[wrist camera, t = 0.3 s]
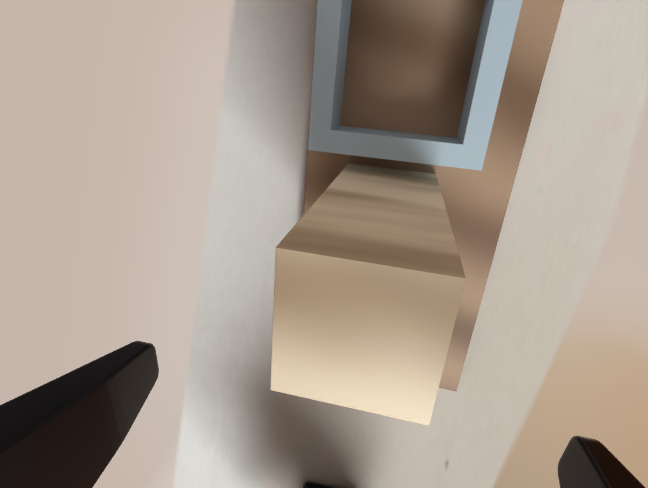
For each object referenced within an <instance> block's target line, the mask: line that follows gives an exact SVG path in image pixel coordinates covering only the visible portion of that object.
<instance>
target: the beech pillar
mask: <svg viewBox="0 0 648 488" xmlns="http://www.w3.org/2000/svg"><path fill="white" fill-rule="evenodd" d="M465 281H466V277H465V273H464V270H463V266H462V263H461V259H460V256H459V252H458V249H457V245H456V242H455V239H454V235H453V232H452V228H451V225H450V221H449V218H448V214H447V211H446V207H445V204H444V200H443V197H442V193H441V190H440V186H439V183H438V180H437V176H436V174H433V173H425V172H416V171H408V170H400V169H392V168H384V167H375V166H367V165H359V164H351V163H348V165H347V166H346V167H345V168H344V169H343V170H342V171H341V173H340V174H339V175H338V176H337V177H336V178H335V180H334V181H333V182H332V183H331V184H330V185H329V187H328V188H327V189H326V190H325V191H324V192H323V194H322V195H321V196H320V197H319V198H318V199H317V200H316V202H315V203H314V204H313V205H312V206H311V207H310V209H309V210H308V211H307V212H306V213H305V214H304V216H303V217H302V218H301V219H300V220H299V221H298V223H297V224H296V225H295V226H294V227H293V228H292V229H291V231H290V232H289V233H288V234H287V235H286V236H285V238H284V239H283V240H282V241H281V242H280V243H279V245H278V246H277V247H276V257H275V284H274V311H273V338H272V365H271V390H273V391H277V392H282V393H286V394H290V395H295V396H299V397H304V398H308V399H313V400H317V401H322V402H326V403H331V404H335V405H339V406H344V407H348V408H353V409H357V410H362V411H366V412H371V413H375V414H379V415H384V416H388V417H393V418H397V419H402V420H406V421H411V422H415V423H420V424H424V425H428V426H429V423H430V419H431V415H432V412H433V408H434V404H435V400H436V396H437V392H438V388H439V384H440V380H441V376H442V372H443V368H444V364H445V360H446V356H447V352H448V348H449V344H450V340H451V336H452V332H453V328H454V324H455V320H456V316H457V312H458V308H459V304H460V300H461V296H462V293H463V289H464V285H465Z"/></svg>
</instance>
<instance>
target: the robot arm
mask: <svg viewBox="0 0 648 488" xmlns="http://www.w3.org/2000/svg"><path fill="white" fill-rule="evenodd" d="M158 372H159V368H158V363H157V356H156V350H155V347H154V346H153V344H150V343H145V342H141V341H135V342H132V343H130V344H128V345H126V346H124V347H122V348H120V349H117V350H115V351H113V352H111V353H109V354H107V355H105V356H103V357H101V358H99V359H97V360H94V361H92V362H90V363H88V364H86V365H84V366H82V367H80V368H78V369H76V370H73V371H71V372H69V373H67V374H65V375H63V376H61V377H59V378H57V379H55V380H52V381H50V382H48V383H46V384H44V385H42V386H40V387H38V388H36V389H33V390H32V391H30V392H27V393H25V394H23V395H21V396H19V397H17V398H15V399H13V400H10V401H9V402H6V403H4V404H2V405H0V488H92V487H93V486H94V484H95V483H96V481H97V480H98V478H99V477H100V475H101V474H102V472H103V471H104V469H105V468H106V466H107V465H108V463H109V462H110V460H111V459H112V457H113V456H114V455H115V453H116V451H117V450H118V448H119V447H120V445H121V444H122V442H123V440H124V439H125V437H126V435H127V433H128V432H129V430H130V428H131V426H132V424H133V423H134V421H135V419H136V417H137V415H138V413H139V412H140V410H141V408H142V406H143V404H144V402H145V400H146V399H147V397H148V395H149V393H150V391H151V390H152V388H153V386H154V384H155V382H156V380H157V377H158ZM558 477H559V483H560V488H645V487H644V486H643V485H642V484H641V483H640V482H639V481H638V480H637V479H636V478H635V477H634V476H633V475H632V474H631V473H630V472H629V471H628V470H627V469H626V468H625V466H624V465H623V464H621V462H620V461H619V460H618V459H617V458H615V456H614V455H613V454H612V453H611V452H610V451H608V449H607V448H606V447H605V446H604V445H603V444H602V443H600V442H599V441H597V440H595V439H591V438H586V437H581V436H574V437H572V438H571V440H570V442H569V443H568V445H567V447H566V449H565V451H564V453H563V455H562V457H561V458H560V461H559V464H558ZM303 488H326V487H323V486H319V485H315V484H311V483H305V484H304V485H303Z"/></svg>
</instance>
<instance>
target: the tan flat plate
mask: <svg viewBox="0 0 648 488" xmlns="http://www.w3.org/2000/svg"><path fill="white" fill-rule="evenodd" d="M485 1H486V0H352V3H351V13H350V24H349V35H348V45H347V56H346V66H345V77H344V88H343V98H342V109H341V120H340V126H349V127H359V128H368V129H377V130H387V131H396V132H405V133H415V134H424V135H434V136H443V137H452V138H457V135H458V130H459V125H460V120H461V116H462V111H463V106H464V101H465V96H466V92H467V87H468V82H469V77H470V73H471V68H472V63H473V58H474V53H475V49H476V44H477V39H478V34H479V29H480V25H481V20H482V15H483V10H484V5H485ZM563 3H564V0H523V1H522V5H521V9H520V14H519V18H518V22H517V26H516V30H515V34H514V39H513V43H512V47H511V51H510V55H509V59H508V64H507V68H506V72H505V76H504V80H503V84H502V88H501V93H500V97H499V101H498V105H497V109H496V113H495V118H494V122H493V126H492V130H491V134H490V138H489V143H488V147H487V151H486V155H485V159H484V163H483V167H482V171H481V170H472V169H464V168H456V167H447V166H439V165H430V164H422V163H413V162H405V161H396V160H388V159H380V158H371V157H363V156H354V155H346V154H337V153H329V152H321V151H312V150H308V155H307V170H306V186H305V201H304V214H305V213H306V212H307V211H308V210H309V209H310V207H311V206H312V205H313V204H314V203H315V202H316V200H317V199H318V198H319V197H320V196H321V195H322V194H323V192H324V191H325V190H326V189H327V188H328V187H329V185H330V184H331V183H332V182H333V181H334V180H335V178H336V177H337V176H338V175H339V174H340V173H341V171H342V170H343V169H344V168H345V167H346V166H347V165H348V163H351V164H359V165H367V166H375V167H384V168H392V169H400V170H408V171H416V172H425V173H433V174H436V176H437V180H438V183H439V186H440V190H441V193H442V197H443V200H444V204H445V207H446V211H447V214H448V218H449V221H450V225H451V228H452V232H453V235H454V239H455V242H456V245H457V249H458V252H459V256H460V259H461V263H462V266H463V270H464V273H465V277H466V281H465V285H464V289H463V293H462V296H461V300H460V304H459V308H458V312H457V316H456V320H455V324H454V328H453V332H452V336H451V340H450V344H449V348H448V352H447V356H446V360H445V364H444V368H443V372H442V376H441V380H440V384H439V388H443V389H448V390H453V391H456V390H457V387H458V383H459V379H460V376H461V372H462V369H463V365H464V361H465V358H466V354H467V350H468V347H469V343H470V340H471V336H472V332H473V329H474V325H475V321H476V318H477V314H478V311H479V307H480V303H481V300H482V296H483V292H484V289H485V285H486V282H487V278H488V274H489V271H490V267H491V263H492V260H493V256H494V253H495V249H496V245H497V242H498V238H499V235H500V231H501V227H502V224H503V220H504V216H505V213H506V209H507V206H508V202H509V198H510V195H511V191H512V187H513V184H514V180H515V177H516V173H517V169H518V166H519V162H520V158H521V155H522V151H523V148H524V144H525V140H526V137H527V133H528V129H529V126H530V122H531V119H532V115H533V111H534V108H535V104H536V100H537V97H538V93H539V90H540V86H541V82H542V79H543V75H544V71H545V68H546V64H547V61H548V57H549V53H550V50H551V46H552V43H553V39H554V35H555V32H556V28H557V24H558V21H559V17H560V14H561V10H562V6H563Z"/></svg>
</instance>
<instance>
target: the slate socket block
mask: <svg viewBox="0 0 648 488" xmlns="http://www.w3.org/2000/svg"><path fill="white" fill-rule="evenodd" d="M522 1H523V0H486V1H485V5H484V10H483V15H482V20H481V25H480V29H479V34H478V39H477V44H476V49H475V53H474V58H473V63H472V68H471V73H470V77H469V82H468V87H467V92H466V96H465V101H464V106H463V111H462V116H461V120H460V125H459V130H458V135H457V138H452V137H443V136H434V135H424V134H415V133H405V132H396V131H387V130H377V129H368V128H359V127H349V126H340V120H341V109H342V98H343V88H344V77H345V66H346V56H347V45H348V35H349V24H350V13H351V3H352V0H317V15H316V30H315V46H314V61H313V77H312V92H311V108H310V123H309V138H308V150H312V151H321V152H329V153H337V154H346V155H354V156H363V157H371V158H380V159H388V160H396V161H405V162H413V163H422V164H430V165H439V166H447V167H456V168H464V169H472V170H481V171H482V167H483V163H484V159H485V155H486V151H487V147H488V143H489V138H490V134H491V130H492V126H493V122H494V118H495V113H496V109H497V105H498V101H499V97H500V93H501V88H502V84H503V80H504V76H505V72H506V68H507V64H508V59H509V55H510V51H511V47H512V43H513V39H514V34H515V30H516V26H517V22H518V18H519V14H520V9H521V5H522Z"/></svg>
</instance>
